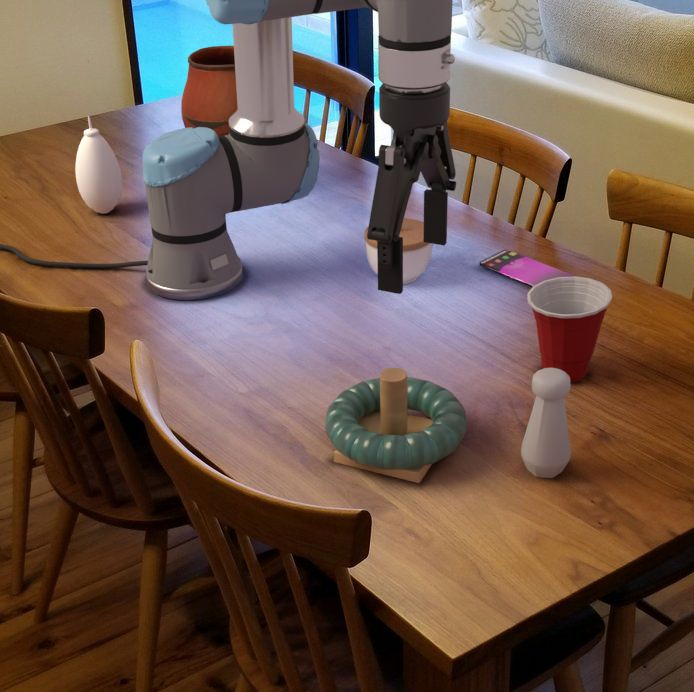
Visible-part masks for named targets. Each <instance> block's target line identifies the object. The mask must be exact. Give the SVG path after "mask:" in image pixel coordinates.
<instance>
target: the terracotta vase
mask: <svg viewBox="0 0 694 692" xmlns="http://www.w3.org/2000/svg"><path fill="white" fill-rule="evenodd" d="M187 63H188V68H187V76H186V81H185V84H184V88H183V92H182V96H181V105H180V106H181V107H180V108H181V109H180V110H181V111H180V112H181V119H182V123H183V126H184V128H189V127H193V128H197V127H206V128H210V129H212V130H214V131H215V132H216V134H217V135H218V137H220V136H225V135H229V118H230V117H231V116H232V115H233V114H234V113H235V112H236V111H237V109H238V105H237V89H236V73H235V57H234V45H214V46H207V47H202V48H199V49H197V50H195V51H193V52H191V53H190V54H189V55H188V57H187Z"/></svg>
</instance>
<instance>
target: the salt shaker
mask: <svg viewBox="0 0 694 692" xmlns="http://www.w3.org/2000/svg"><path fill="white" fill-rule="evenodd" d="M571 386H572V385H571V383H570V377H569V376H568V374H567V373H566V372H564V371H562V370H560V369H557V368H544V369H542V368H541V369H539V370H537V371H536V372H535V373H534V374H533V376H532V379H531V391H532V393H533V394H534V395H535V399H534V402H533V407H532V409H531V412H530V413H531V414H530V417H529V419H528V422H527V427H526V430H525V433H524V436H523V439H522V443H521V446H520V456H521V459H522V462H523V463H524V466H525V468H526V470H527V471H528V472H530V473H531V475H533V476H534V477H535V478H542V479H543V478H545V479H554V478H555V477H557V476H558V475H559V474H561V473H562V472H563V471H564V469H565V468H566V467H567V465H568V463H569V462H570V461H571V457H572V450H571V449H572V447H571V441H570V435H569V427H568V425H569V424H568V416H567V409H566V400H565V398H566V397H567V396H568V395H569V394H570V392H571V388H572V387H571Z"/></svg>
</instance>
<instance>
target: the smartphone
mask: <svg viewBox="0 0 694 692" xmlns="http://www.w3.org/2000/svg"><path fill="white" fill-rule="evenodd" d="M478 263H479V266H480V267H483V268H485V269H487V270H490V271H492V272H495V273H497V274H500V275H502V276H505V277H507V278H510V279H512V280H515V281H517V282H519V283H522V284H525V285H528V286H530V287H533V286H535V285H537V284H539V283H541V282H543V281H545V280H549V279H554V278H558V277H574V276H575V277H579V276H578V275H575V274H572V273H570V272H567V271H564V270H561V269H559V268H556V267H554V266H551V265H548V264H546V263H544V262H540V261H538V260H535V259H532V258H529V257H527V256H525V255H522V254H519V253H517V252H514V251H511V250H509V249H506V248H505V249H503V250H501V251H499V252H497V253H494V254H493V255H491V256H489V257H487V258H485V259H483V260H480V261H479V262H478Z"/></svg>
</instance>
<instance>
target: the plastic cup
mask: <svg viewBox="0 0 694 692" xmlns="http://www.w3.org/2000/svg"><path fill="white" fill-rule="evenodd" d="M575 276H576V275H575ZM575 276H574V277H558V278H554V279H549V280H545V281H543V282H541V283H539V284H537V285H535V286H531V288H530V289H529V291H528V292H527V293H526V297H527V303H528V305H529V306H530V307H531V309H532V313H533V315H534V320H535V324H536V331H537V339H538V347H539V353H540V358H541V359H540V360H541V367H542V368H541V369H544V368H557V369H560V370H562V371H564V372H566V373H567V374H568V376H569V377H570V384H571V383H576V382H579V381H581V380H583V379H584V378H585V376H586V374H587V372H588V370H589V367H590V364H591V360H592V357H593V355H594V352H595V349H596V345H597V343H598V339H599V338H598V337H599V335H600V330H601V327H602V324H603V320H604V319H605V315H606V312H607V308H608V306H609V305H610V303H611V302H612V299H613V293H612V290H611V288H610V287H608V286H607V285H606V284H605V283H603V282H601V281H598V280H595V279H593V278H590V277H582V276H578V277H575Z"/></svg>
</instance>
